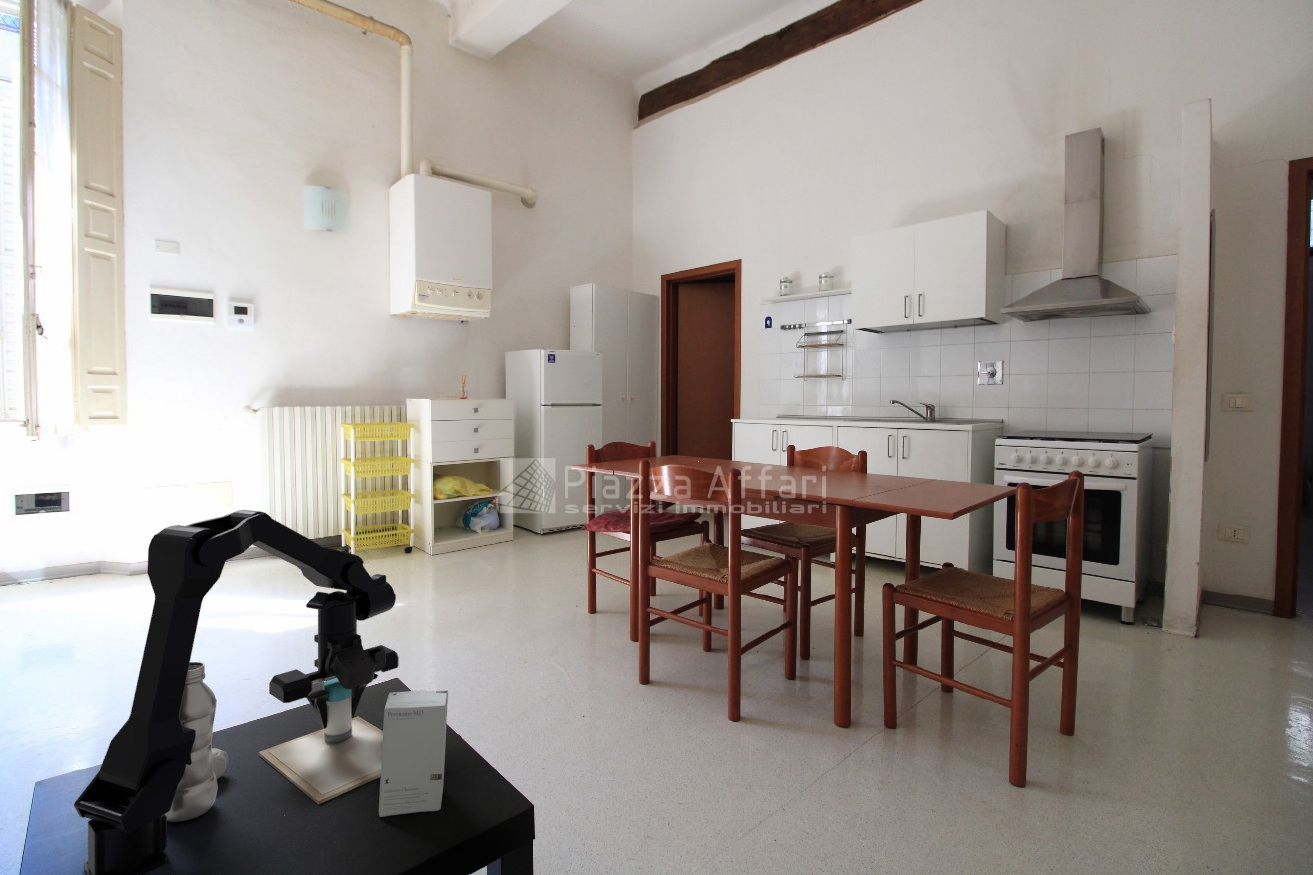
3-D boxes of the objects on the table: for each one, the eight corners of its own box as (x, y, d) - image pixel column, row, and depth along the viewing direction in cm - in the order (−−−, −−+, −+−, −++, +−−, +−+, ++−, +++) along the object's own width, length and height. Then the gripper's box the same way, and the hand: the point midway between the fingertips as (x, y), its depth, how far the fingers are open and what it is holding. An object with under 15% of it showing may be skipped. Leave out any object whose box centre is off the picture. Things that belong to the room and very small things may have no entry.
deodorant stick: (331, 745, 103) (330, 689, 103) (319, 737, 106) (318, 682, 106) (357, 735, 107) (356, 680, 107) (344, 728, 109) (343, 674, 109)
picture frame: (318, 804, 90) (318, 800, 90) (258, 755, 102) (258, 751, 102) (422, 757, 102) (422, 754, 102) (358, 718, 114) (358, 715, 114)
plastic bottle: (187, 832, 83) (187, 678, 82) (143, 824, 84) (143, 673, 84) (229, 803, 89) (230, 660, 89) (188, 796, 91) (188, 655, 90)
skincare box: (378, 818, 87) (379, 709, 86) (385, 793, 93) (386, 690, 92) (444, 810, 89) (445, 704, 88) (446, 786, 95) (448, 685, 94)
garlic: (179, 798, 90) (179, 761, 90) (177, 780, 94) (177, 745, 94) (230, 783, 94) (231, 748, 94) (226, 767, 98) (226, 733, 98)
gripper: (300, 658, 94) (300, 763, 94) (417, 625, 108) (416, 717, 109) (267, 640, 100) (267, 738, 101) (381, 612, 115) (381, 698, 116)
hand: (337, 722), depth 107 cm, fingers closed on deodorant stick, 4 cm apart
